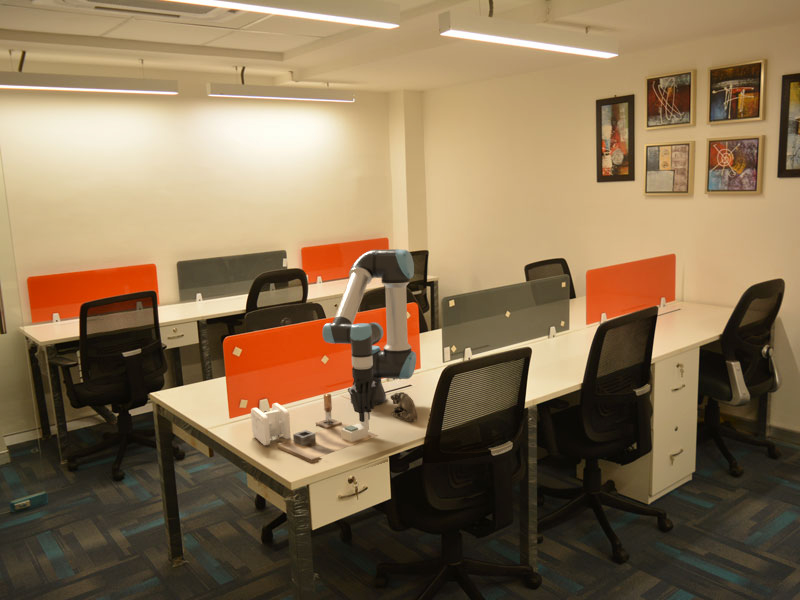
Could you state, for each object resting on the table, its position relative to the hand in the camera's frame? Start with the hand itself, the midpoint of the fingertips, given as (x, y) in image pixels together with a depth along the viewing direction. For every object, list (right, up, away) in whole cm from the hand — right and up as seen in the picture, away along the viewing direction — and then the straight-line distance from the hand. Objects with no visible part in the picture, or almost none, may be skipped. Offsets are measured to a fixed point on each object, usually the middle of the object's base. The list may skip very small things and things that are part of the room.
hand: (364, 429), depth 252 cm
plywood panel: (-13, -4, -4) cm, 14 cm away
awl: (-14, -2, +12) cm, 19 cm away
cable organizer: (-34, -4, +1) cm, 35 cm away
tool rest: (-14, -2, +12) cm, 19 cm away
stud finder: (-3, -2, -3) cm, 5 cm away
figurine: (+15, 0, +20) cm, 25 cm away
